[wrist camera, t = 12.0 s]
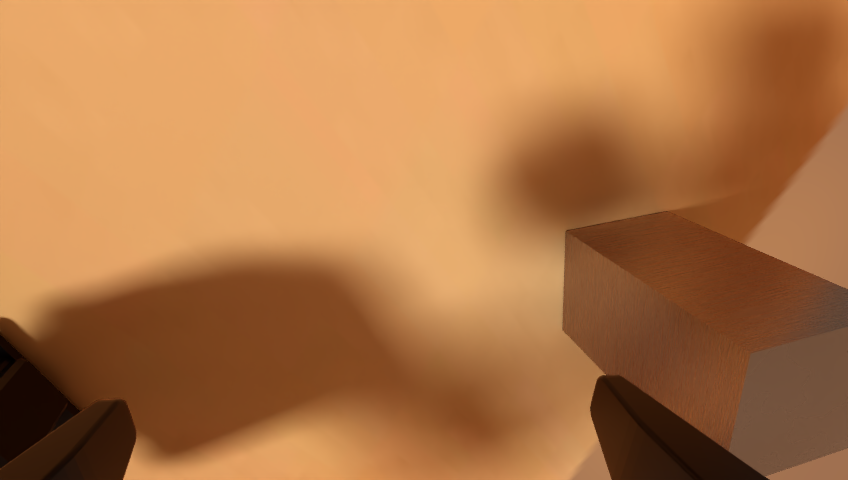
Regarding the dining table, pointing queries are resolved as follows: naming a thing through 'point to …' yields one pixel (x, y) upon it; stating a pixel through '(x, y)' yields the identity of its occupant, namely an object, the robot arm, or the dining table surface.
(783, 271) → the grey rectangular block
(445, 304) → the dining table surface
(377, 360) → the dining table surface
